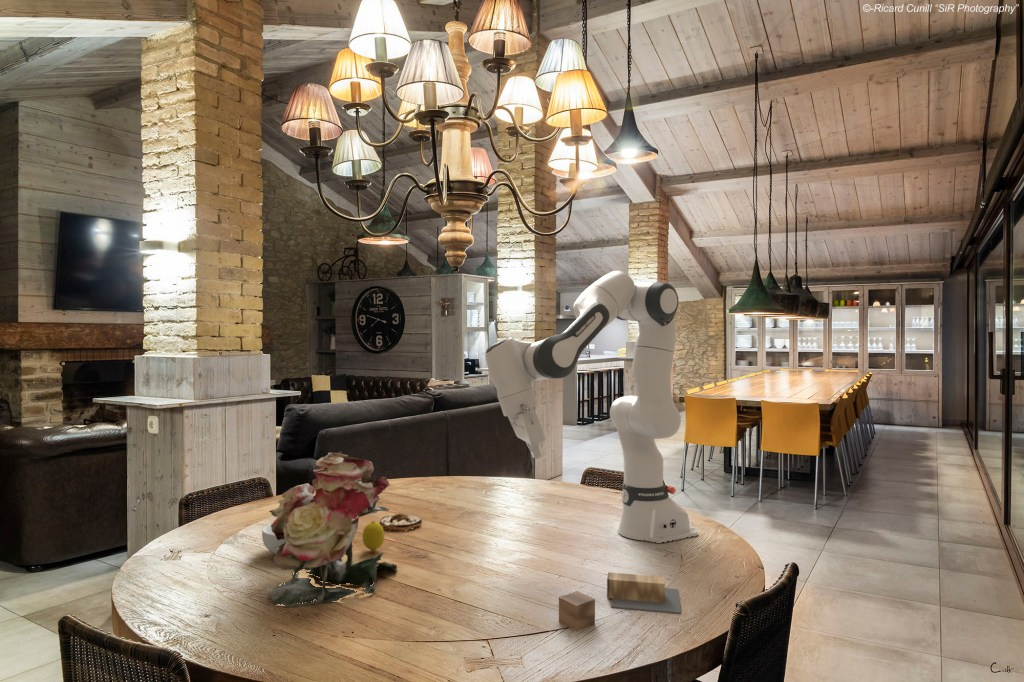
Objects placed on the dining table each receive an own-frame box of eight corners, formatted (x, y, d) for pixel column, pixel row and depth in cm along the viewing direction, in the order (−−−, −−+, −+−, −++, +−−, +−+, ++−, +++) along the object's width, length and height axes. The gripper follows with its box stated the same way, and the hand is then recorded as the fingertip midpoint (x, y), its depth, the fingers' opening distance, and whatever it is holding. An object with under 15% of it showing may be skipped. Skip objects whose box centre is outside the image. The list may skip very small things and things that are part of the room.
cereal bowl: (344, 547, 168) (344, 521, 168) (298, 568, 152) (298, 539, 152) (295, 539, 175) (295, 513, 175) (247, 558, 160) (247, 530, 160)
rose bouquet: (284, 565, 155) (284, 443, 155) (403, 566, 155) (403, 443, 154) (237, 610, 129) (237, 464, 129) (379, 611, 129) (379, 465, 129)
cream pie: (424, 518, 197) (424, 504, 197) (427, 532, 182) (427, 518, 182) (375, 520, 194) (375, 507, 194) (375, 536, 179) (375, 521, 179)
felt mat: (611, 607, 131) (611, 606, 131) (613, 585, 143) (613, 583, 143) (680, 613, 128) (680, 612, 128) (677, 590, 140) (677, 589, 140)
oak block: (607, 579, 135) (664, 583, 132) (608, 572, 139) (664, 576, 136) (607, 597, 135) (664, 602, 133) (608, 590, 139) (664, 595, 136)
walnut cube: (577, 615, 127) (577, 590, 127) (595, 624, 123) (594, 599, 123) (558, 622, 124) (558, 597, 124) (576, 631, 120) (576, 605, 120)
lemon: (388, 549, 166) (388, 519, 166) (376, 556, 161) (377, 524, 161) (369, 547, 168) (369, 517, 168) (358, 553, 163) (358, 522, 163)
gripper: (539, 401, 144) (559, 458, 144) (523, 398, 164) (540, 448, 164) (514, 410, 143) (533, 468, 143) (500, 406, 163) (518, 456, 163)
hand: (537, 457), depth 154 cm, fingers closed
